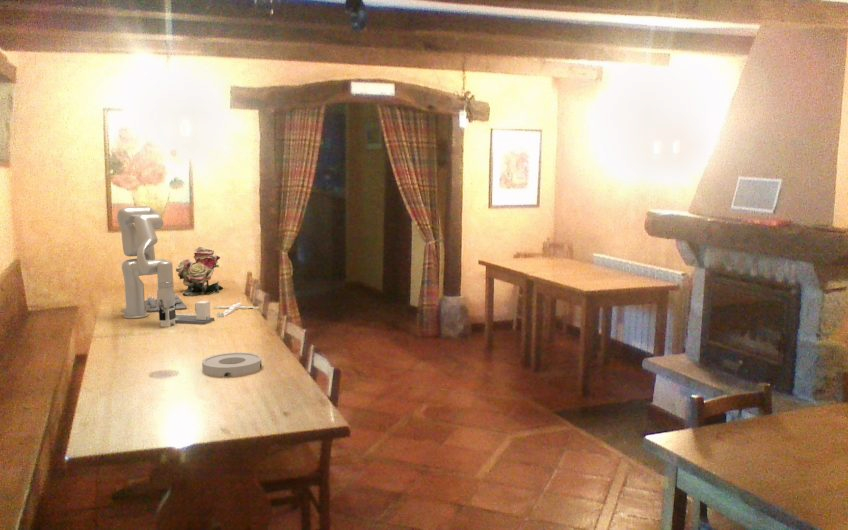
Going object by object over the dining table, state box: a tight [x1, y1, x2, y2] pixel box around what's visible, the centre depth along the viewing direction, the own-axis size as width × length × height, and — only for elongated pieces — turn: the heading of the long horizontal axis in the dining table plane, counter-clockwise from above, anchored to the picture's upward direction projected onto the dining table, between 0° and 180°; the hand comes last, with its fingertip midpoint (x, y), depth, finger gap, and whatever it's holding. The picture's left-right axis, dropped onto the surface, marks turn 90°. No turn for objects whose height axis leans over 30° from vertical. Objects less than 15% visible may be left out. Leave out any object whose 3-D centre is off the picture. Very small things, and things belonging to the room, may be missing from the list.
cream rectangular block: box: [159, 308, 176, 328], centre depth 371 cm, size 6×6×9 cm
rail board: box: [175, 300, 215, 325], centre depth 380 cm, size 25×10×11 cm, turn 77°
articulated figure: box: [212, 302, 260, 318], centre depth 406 cm, size 27×4×30 cm
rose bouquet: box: [175, 246, 224, 297], centre depth 466 cm, size 26×29×30 cm
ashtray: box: [201, 352, 263, 378], centre depth 291 cm, size 23×23×4 cm
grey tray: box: [145, 294, 188, 313], centre depth 422 cm, size 30×22×7 cm
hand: (167, 318), depth 371 cm, fingers open, 8 cm apart
